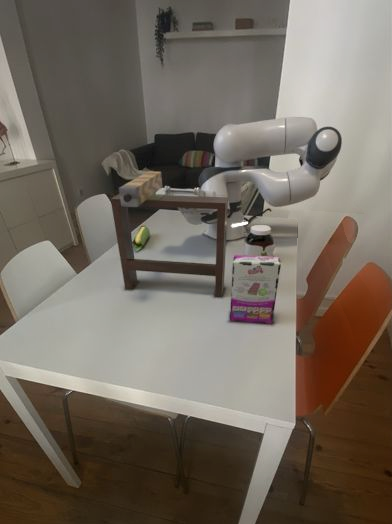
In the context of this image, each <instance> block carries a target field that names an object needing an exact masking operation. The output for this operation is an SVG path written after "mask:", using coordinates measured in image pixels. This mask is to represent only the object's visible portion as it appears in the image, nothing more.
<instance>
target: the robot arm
mask: <svg viewBox="0 0 392 524" xmlns="http://www.w3.org/2000/svg"><path fill="white" fill-rule="evenodd" d="M342 144H343V139H342V134H341V133H340V131H339V130H338V129H337V128H335V127H334V126H323V127H320V128H318V125H317V122H316V121H315V119H314V118H312V117H306V116H289V117H280V118H272V119H264V120H258V121H253V122H247V123H246V122H245V123H241V124H240V123H239V124H235V123H228V124H225V125H224V126H222V127H221V128H220V129H219V130H218V131H217V133H216V135H215V136H214V140H213V150H214V154H215V155H214V157H215V158H214V159H215V160H214V166H208V167H205V168H203V170H202V171H201V173H200V174H199V176H198V179H197V183H198V186H199V187H193V188H172V187H171V186H170V185H164V187H162V188H161V189H159V190H158V191H157V192H156V193H155V194H163V195H173V196H203V197H228V212H227V233H226V241H234V240H238V239H241V238H246V237H247V235H248V234H249V233H248V231H247V229H246V226H245V225H248V224H249V223H250V222H251V221H252V220H253V219H254V218H256V217H259V216H262V215H263V214H265V213H266V212H268V211H269V212H272V209H271V208H268V207H267V208H266V209H264V211H261V212H259V213H257V214H254V215H252V216H251V217H250V218H249V219H248V218H247V217H245V216H244V213H242V206H243V203H242V200H243V199H242V188H243V182H250V183H252V184H253V185H254V186H255V187H256V189H257V190H258V192H259V193H260V195H261V197H262V199H263V200H264V201H265V203H267V204H268V205H269V206H271V207H274V208H281V207H287V206H291V205H295V204H298V203H302V202H304V201H306V200H309V199H311V198H313V197H315V196H316V195H317V194H318V192H319V190H320V187H321V181H322V180H324V179H325V178H326V177H328V175H330V172H331V170H332V169H333V168H334V166H335V165H336V162H337V159H338V156H339V154H340V152H341V148H342ZM293 154H295V155H298V156H299V158H298V162H299V165H300V167H298V168H295V169H291V170H287V171H282V172H281V171H280V172H279V171H274V170H272V169H270V167H269V166H267V165H244V161H250V160H255V159H259V158H267V157H275V156H283V155H293ZM177 210H178V211H179V213H180V214H181V215H182V216H183V218H184V219H185V220H186V222H187V223H189V224H191V225H195V226H199V225H202V224H203V223H204V224H207V228H206V229H205V230H204V231H203V235H205V236H208V237H210V238H211V239H214V240H217V209H200V208H177Z"/></svg>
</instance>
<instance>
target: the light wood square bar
mask: <svg viewBox="0 0 392 524" xmlns="http://www.w3.org/2000/svg"><path fill="white" fill-rule="evenodd" d="M161 188H163V178H162V171H151V170H150V171H146V172H144V173H142V174H140V175H139V176H137V177H135V178H133V179H132V180H130V181H129V182H126V183H125V184H123V185H122V186H120V187H118V192H119V193H118V194H120V200H121V206H124V207H128V208H138V207H140V206H139V205H140V204H142V203H143V202H144V201H146V200H147V199H148V198H149V197H151V196H152V195H153V194H156V192H157V191H158V190H159V189H161Z"/></svg>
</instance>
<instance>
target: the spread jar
mask: <svg viewBox="0 0 392 524" xmlns="http://www.w3.org/2000/svg"><path fill="white" fill-rule="evenodd" d="M271 232H272V227H271V226H268V225H266V224H255V225H252V226H250V231H249V233H247V234H248V235H247V237H245V239H244V244H243V255H245V256H274V255H273V253H274V251H275V248H276V243H275V239H274V237H273V235H272V233H271Z"/></svg>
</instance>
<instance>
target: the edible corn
mask: <svg viewBox="0 0 392 524" xmlns="http://www.w3.org/2000/svg"><path fill="white" fill-rule="evenodd" d="M150 234H151V232H150V230H149V227H147V226H146V225H141V226H140V227H139V228H138V229H137V231H136V234H135V236H134V238H133V239H132V244H133V249H135V251H136V252H138V251H140V250H141V249H142V248H143V247H144V245H145V243H146V242H147V241H148V239H149V237H150V236H151V235H150Z"/></svg>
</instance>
